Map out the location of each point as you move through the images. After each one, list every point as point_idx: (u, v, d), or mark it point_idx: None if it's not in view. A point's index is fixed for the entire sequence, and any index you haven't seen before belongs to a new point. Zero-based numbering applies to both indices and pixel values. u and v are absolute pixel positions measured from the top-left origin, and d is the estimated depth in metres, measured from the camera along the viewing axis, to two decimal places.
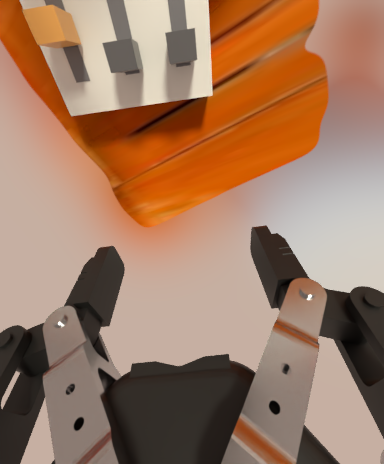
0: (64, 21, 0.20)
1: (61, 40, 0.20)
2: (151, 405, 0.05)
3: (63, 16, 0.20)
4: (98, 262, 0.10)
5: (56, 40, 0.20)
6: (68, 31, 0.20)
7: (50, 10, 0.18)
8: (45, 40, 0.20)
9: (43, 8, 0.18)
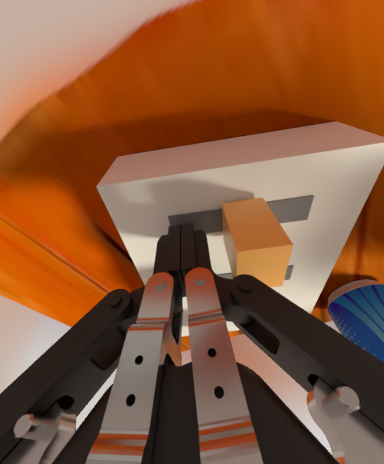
0: None
1: None
2: None
3: None
4: (174, 237, 0.11)
5: None
6: None
7: (277, 282, 0.10)
8: (240, 266, 0.09)
9: (282, 274, 0.10)
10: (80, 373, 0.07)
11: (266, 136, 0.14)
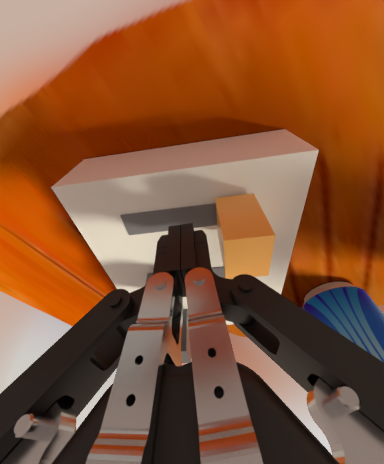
0: None
1: (225, 272, 0.11)
2: None
3: None
4: (174, 237, 0.11)
5: (226, 268, 0.11)
6: None
7: (263, 272, 0.11)
8: (227, 254, 0.10)
9: (267, 264, 0.10)
10: (80, 373, 0.07)
11: (217, 142, 0.15)
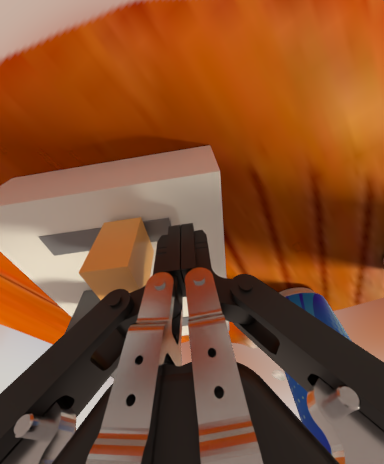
0: None
1: None
2: None
3: None
4: (174, 237, 0.11)
5: (99, 296, 0.11)
6: None
7: None
8: (91, 284, 0.10)
9: None
10: (80, 373, 0.07)
11: (141, 160, 0.14)
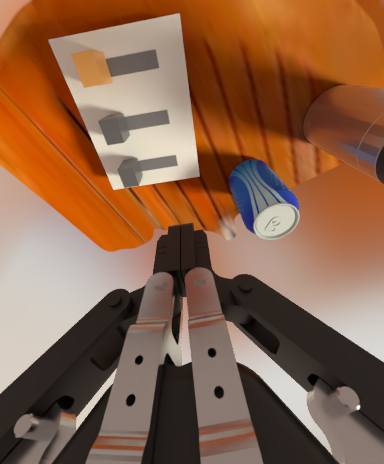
0: None
1: (82, 82, 0.23)
2: None
3: None
4: (174, 237, 0.11)
5: (80, 77, 0.23)
6: None
7: (99, 80, 0.23)
8: (76, 65, 0.22)
9: (99, 74, 0.22)
10: (80, 373, 0.07)
11: None
